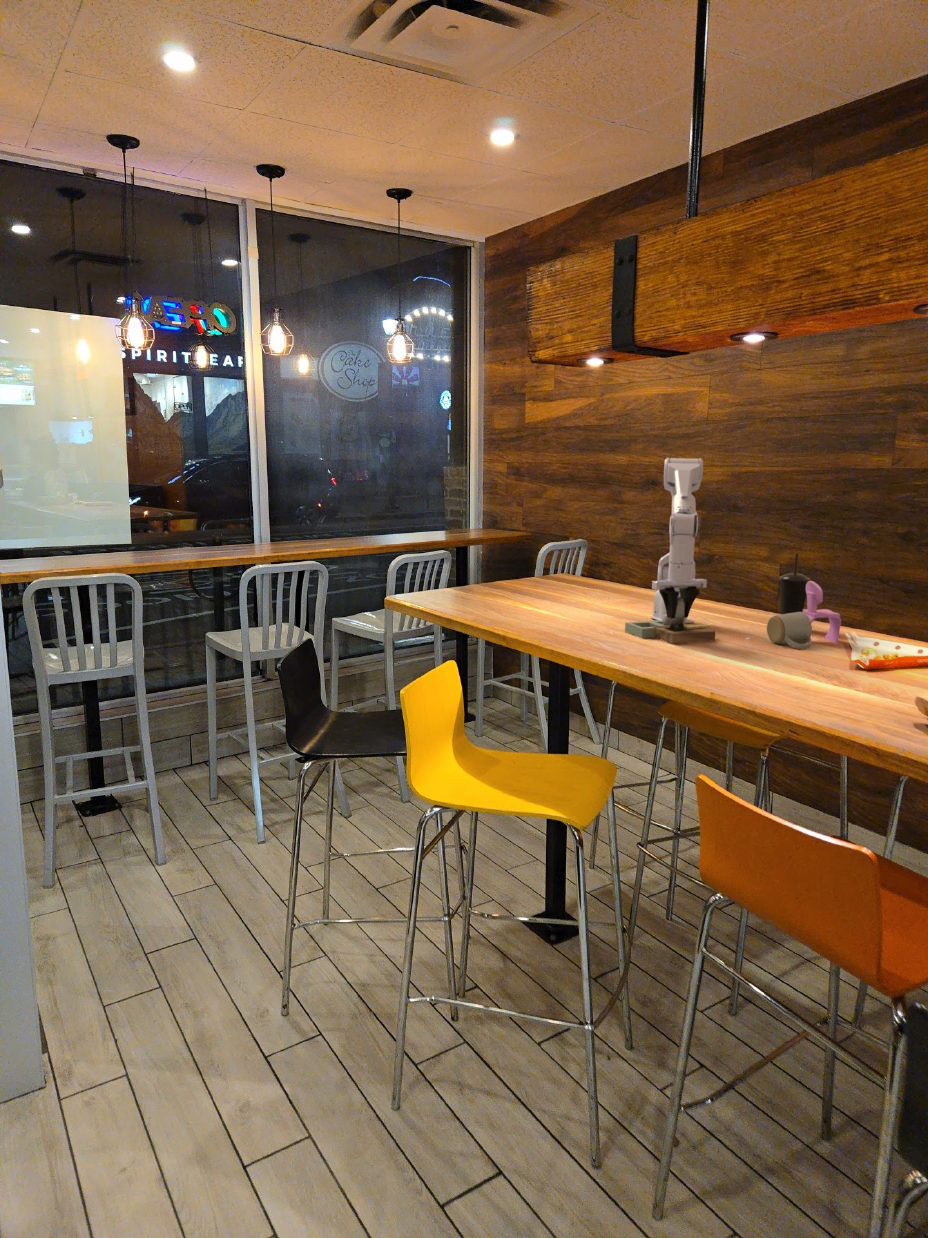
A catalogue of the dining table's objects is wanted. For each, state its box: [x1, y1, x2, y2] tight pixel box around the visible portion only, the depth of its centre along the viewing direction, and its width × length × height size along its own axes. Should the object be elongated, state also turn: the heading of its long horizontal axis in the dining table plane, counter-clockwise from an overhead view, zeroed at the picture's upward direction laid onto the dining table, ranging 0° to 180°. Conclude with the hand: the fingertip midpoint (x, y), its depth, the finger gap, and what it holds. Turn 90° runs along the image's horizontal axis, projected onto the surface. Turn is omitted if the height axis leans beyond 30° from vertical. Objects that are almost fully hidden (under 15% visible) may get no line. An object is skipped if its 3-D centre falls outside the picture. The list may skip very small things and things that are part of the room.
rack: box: [624, 614, 687, 639], centre depth 214 cm, size 8×14×4 cm, turn 110°
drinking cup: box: [778, 553, 811, 615], centre depth 221 cm, size 8×8×20 cm
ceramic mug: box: [766, 612, 813, 650], centre depth 203 cm, size 11×8×8 cm
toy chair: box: [803, 580, 842, 644], centre depth 207 cm, size 8×9×15 cm
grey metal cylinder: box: [670, 596, 686, 631], centre depth 207 cm, size 3×3×8 cm
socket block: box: [651, 623, 716, 645], centre depth 209 cm, size 10×12×2 cm
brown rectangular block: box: [683, 623, 712, 631], centre depth 210 cm, size 2×7×3 cm, turn 110°
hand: (677, 617), depth 207 cm, fingers closed on grey metal cylinder, 3 cm apart
